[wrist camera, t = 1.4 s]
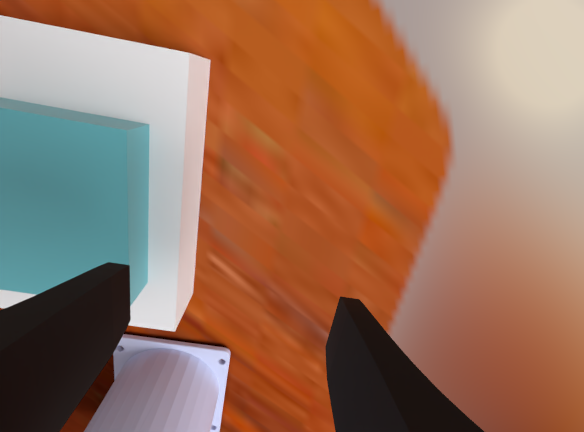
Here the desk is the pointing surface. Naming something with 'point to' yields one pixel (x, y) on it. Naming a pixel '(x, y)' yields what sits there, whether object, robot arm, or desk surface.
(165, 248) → the white flat block
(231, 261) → the desk surface
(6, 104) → the tile
